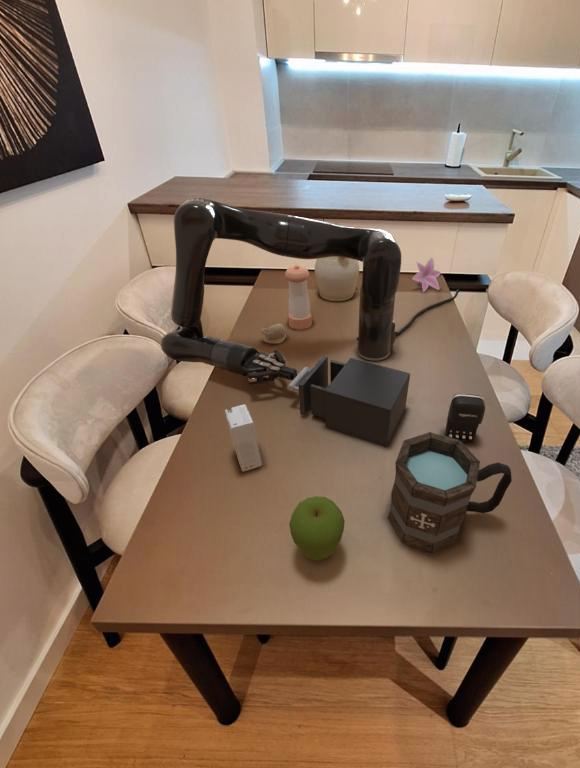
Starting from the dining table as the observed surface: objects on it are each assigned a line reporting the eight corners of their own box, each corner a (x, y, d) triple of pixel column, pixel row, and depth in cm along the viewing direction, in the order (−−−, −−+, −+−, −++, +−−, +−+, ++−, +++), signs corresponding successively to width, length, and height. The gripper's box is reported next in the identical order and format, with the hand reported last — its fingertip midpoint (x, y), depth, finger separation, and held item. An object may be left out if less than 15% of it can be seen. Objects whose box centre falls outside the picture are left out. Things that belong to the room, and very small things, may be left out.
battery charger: (443, 443, 87) (453, 403, 80) (442, 430, 90) (451, 391, 83) (476, 446, 86) (488, 406, 79) (474, 433, 89) (486, 394, 82)
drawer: (284, 409, 93) (280, 379, 88) (308, 379, 102) (307, 351, 97) (354, 431, 88) (355, 401, 82) (373, 398, 97) (376, 369, 92)
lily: (405, 293, 149) (416, 276, 141) (405, 269, 154) (417, 252, 146) (433, 302, 152) (446, 285, 143) (433, 279, 157) (446, 262, 149)
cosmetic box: (263, 466, 81) (255, 422, 73) (241, 473, 79) (231, 429, 72) (255, 445, 85) (247, 402, 78) (233, 452, 83) (223, 408, 76)
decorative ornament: (290, 339, 119) (288, 323, 116) (265, 348, 115) (263, 332, 112) (282, 333, 122) (281, 317, 118) (258, 342, 117) (256, 326, 114)
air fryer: (325, 427, 90) (324, 390, 83) (349, 392, 100) (350, 357, 93) (386, 447, 86) (390, 410, 79) (405, 408, 96) (410, 373, 89)
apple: (349, 567, 65) (351, 527, 57) (298, 581, 63) (293, 542, 55) (336, 521, 71) (336, 480, 64) (289, 533, 69) (283, 492, 62)
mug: (391, 553, 67) (400, 498, 57) (383, 487, 77) (390, 432, 68) (507, 551, 67) (534, 497, 58) (483, 486, 78) (503, 431, 69)
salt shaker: (310, 330, 124) (307, 270, 112) (287, 329, 124) (282, 269, 112) (312, 318, 129) (310, 261, 117) (290, 318, 129) (285, 260, 117)
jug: (358, 304, 138) (361, 230, 123) (313, 303, 138) (310, 229, 123) (358, 285, 150) (361, 216, 135) (317, 284, 150) (315, 215, 135)
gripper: (214, 359, 92) (279, 378, 87) (248, 332, 102) (308, 348, 97) (220, 384, 97) (282, 404, 92) (252, 356, 106) (309, 373, 101)
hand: (295, 375), depth 94 cm, fingers closed
